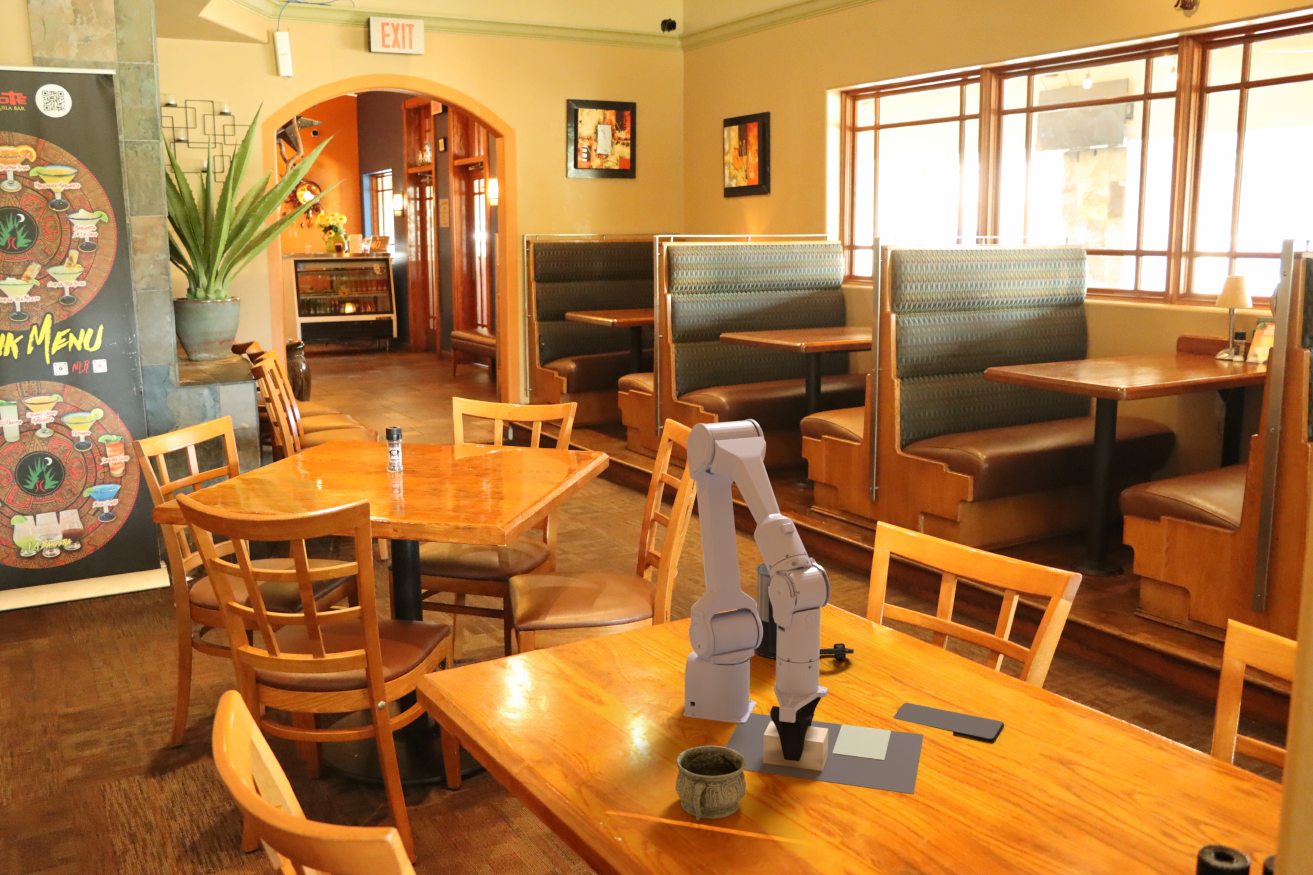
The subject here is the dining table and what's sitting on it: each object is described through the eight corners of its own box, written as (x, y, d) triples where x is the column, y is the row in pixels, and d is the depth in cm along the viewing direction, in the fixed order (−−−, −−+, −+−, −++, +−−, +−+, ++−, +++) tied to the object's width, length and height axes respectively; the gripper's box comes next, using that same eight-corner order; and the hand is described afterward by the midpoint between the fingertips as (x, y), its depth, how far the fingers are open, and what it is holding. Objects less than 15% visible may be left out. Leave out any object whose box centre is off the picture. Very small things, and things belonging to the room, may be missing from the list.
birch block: (763, 762, 147) (763, 734, 147) (769, 748, 152) (770, 720, 151) (822, 770, 145) (823, 742, 144) (827, 755, 149) (828, 728, 148)
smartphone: (904, 701, 167) (1004, 721, 160) (904, 707, 167) (1004, 727, 160) (890, 718, 161) (993, 739, 154) (889, 723, 161) (993, 745, 154)
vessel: (731, 837, 130) (732, 787, 128) (661, 824, 132) (661, 775, 131) (756, 790, 141) (757, 744, 140) (691, 779, 144) (691, 734, 143)
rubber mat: (714, 768, 147) (714, 764, 146) (744, 714, 163) (744, 711, 163) (913, 796, 139) (913, 792, 139) (923, 737, 156) (923, 733, 156)
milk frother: (749, 642, 194) (750, 561, 191) (836, 638, 196) (838, 558, 193) (766, 672, 180) (767, 585, 177) (859, 668, 182) (862, 582, 179)
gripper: (819, 678, 138) (816, 779, 140) (835, 640, 151) (833, 732, 154) (764, 672, 140) (762, 771, 142) (785, 634, 153) (783, 725, 156)
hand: (795, 750), depth 148 cm, fingers closed on birch block, 4 cm apart
